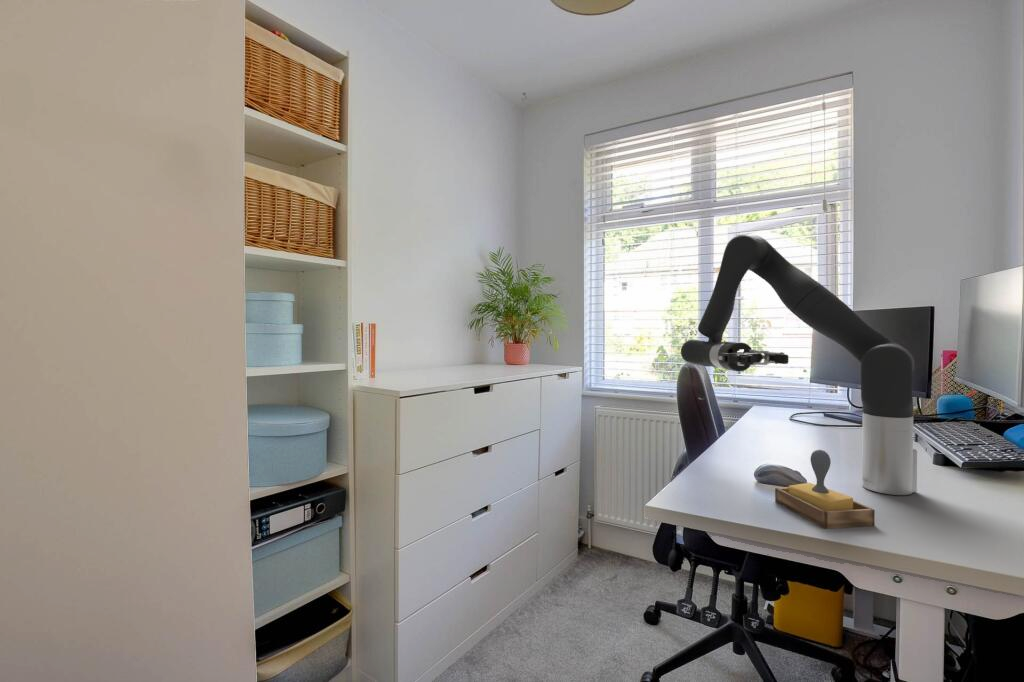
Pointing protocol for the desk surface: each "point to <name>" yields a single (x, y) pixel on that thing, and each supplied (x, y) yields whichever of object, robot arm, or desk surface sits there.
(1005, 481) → the desk surface
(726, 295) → the robot arm
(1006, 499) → the desk surface
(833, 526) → the tray
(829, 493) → the rubber stamp
